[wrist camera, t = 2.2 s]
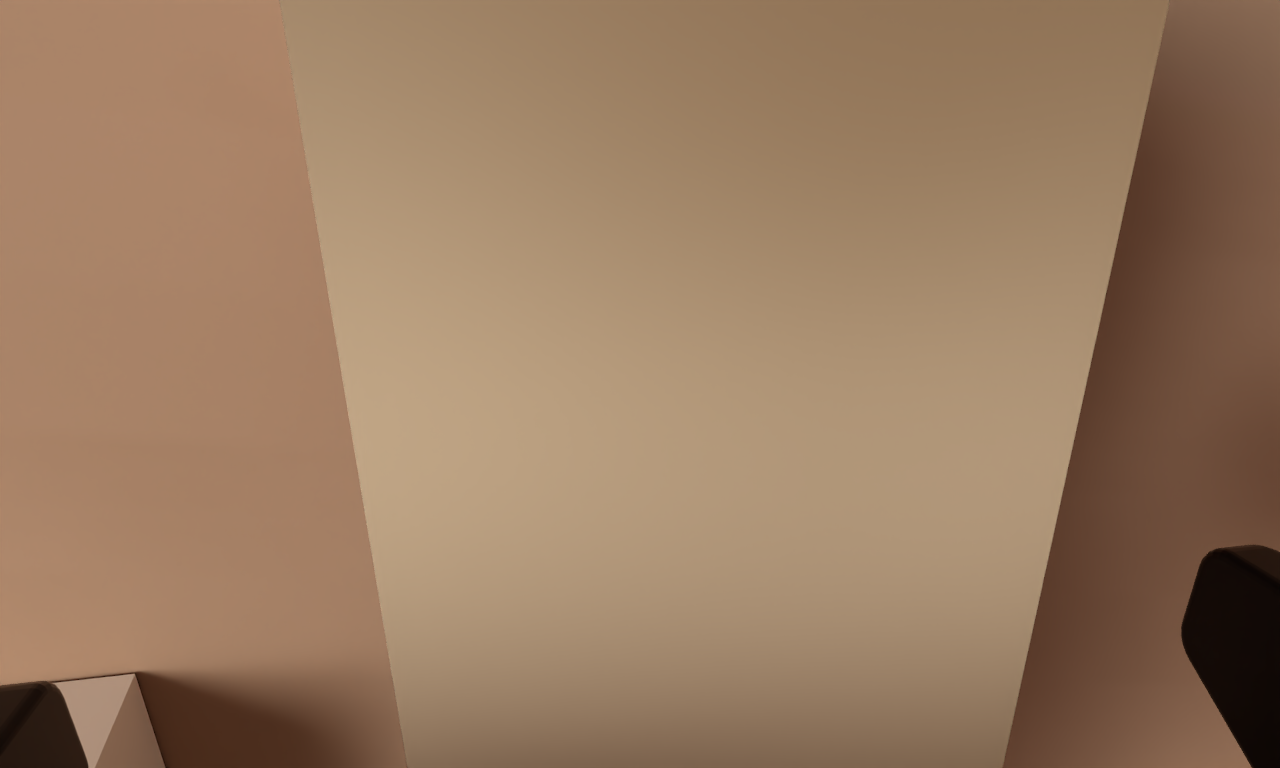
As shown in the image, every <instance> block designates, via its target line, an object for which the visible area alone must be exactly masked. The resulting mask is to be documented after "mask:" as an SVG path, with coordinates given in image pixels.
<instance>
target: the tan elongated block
mask: <svg viewBox="0 0 1280 768" xmlns="http://www.w3.org/2000/svg"><path fill="white" fill-rule="evenodd" d="M279 2H280V8H281V14H282V20H283V26H284V32H285V38H286V44H287V50H288V56H289V62H290V68H291V74H292V80H293V86H294V92H295V98H296V104H297V110H298V116H299V122H300V128H301V134H302V140H303V146H304V152H305V158H306V164H307V170H308V176H309V182H310V188H311V194H312V200H313V206H314V212H315V218H316V224H317V230H318V236H319V242H320V248H321V254H322V260H323V266H324V272H325V278H326V283H327V289H328V295H329V301H330V307H331V313H332V319H333V325H334V331H335V337H336V343H337V349H338V355H339V361H340V367H341V373H342V379H343V385H344V391H345V397H346V403H347V409H348V415H349V421H350V427H351V433H352V439H353V445H354V451H355V457H356V463H357V469H358V475H359V481H360V487H361V493H362V499H363V505H364V511H365V517H366V523H367V529H368V535H369V541H370V547H371V553H372V559H373V565H374V571H375V577H376V583H377V589H378V595H379V601H380V607H381V613H382V619H383V625H384V631H385V637H386V643H387V649H388V655H389V661H390V667H391V673H392V679H393V685H394V691H395V697H396V703H397V709H398V715H399V721H400V727H401V732H402V738H403V744H404V750H405V756H406V762H407V768H1003V763H1004V759H1005V754H1006V750H1007V745H1008V741H1009V736H1010V731H1011V727H1012V722H1013V718H1014V713H1015V708H1016V704H1017V699H1018V695H1019V690H1020V686H1021V681H1022V676H1023V672H1024V667H1025V663H1026V658H1027V653H1028V649H1029V644H1030V640H1031V635H1032V631H1033V626H1034V621H1035V617H1036V612H1037V608H1038V603H1039V598H1040V594H1041V589H1042V585H1043V580H1044V576H1045V571H1046V566H1047V562H1048V557H1049V553H1050V548H1051V543H1052V539H1053V534H1054V530H1055V525H1056V521H1057V516H1058V511H1059V507H1060V502H1061V498H1062V493H1063V488H1064V484H1065V479H1066V475H1067V470H1068V466H1069V461H1070V456H1071V452H1072V447H1073V443H1074V438H1075V433H1076V429H1077V424H1078V420H1079V415H1080V411H1081V406H1082V401H1083V397H1084V392H1085V388H1086V383H1087V378H1088V374H1089V369H1090V365H1091V360H1092V356H1093V351H1094V346H1095V342H1096V337H1097V333H1098V328H1099V323H1100V319H1101V314H1102V310H1103V305H1104V301H1105V296H1106V291H1107V287H1108V282H1109V278H1110V273H1111V268H1112V264H1113V259H1114V255H1115V250H1116V246H1117V241H1118V236H1119V232H1120V227H1121V223H1122V218H1123V213H1124V209H1125V204H1126V200H1127V195H1128V191H1129V186H1130V181H1131V177H1132V172H1133V168H1134V163H1135V158H1136V154H1137V149H1138V145H1139V140H1140V136H1141V131H1142V126H1143V122H1144V117H1145V113H1146V108H1147V103H1148V99H1149V94H1150V90H1151V85H1152V81H1153V76H1154V71H1155V67H1156V62H1157V58H1158V53H1159V49H1160V44H1161V39H1162V35H1163V30H1164V26H1165V21H1166V16H1167V12H1168V7H1169V3H1170V0H279Z"/></svg>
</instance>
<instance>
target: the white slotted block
mask: <svg viewBox="0 0 1280 768" xmlns="http://www.w3.org/2000/svg"><path fill="white" fill-rule="evenodd" d="M53 684H55V685H56V686H57V687H58V688H59V689H60V691H61V693H62V694H63V696H64V699H65V701H66V704H67V707H68V709H69V712H70V715H71V717H72V720H73V723H74V726H75V728H76V731H77V734H78V736H79V739H80V742H81V744H82V747H83V750H84V753H85V755H86V758H87V762H88V767H89V768H165V765H164V762H163V759H162V756H161V753H160V750H159V747H158V744H157V741H156V737H155V734H154V731H153V728H152V725H151V722H150V719H149V716H148V713H147V710H146V707H145V703H144V700H143V697H142V694H141V691H140V688H139V685H138V682H137V679H136V676H135V674H128V675H120V676H111V677H102V678H93V679H84V680H75V681H66V682H58V683H53Z"/></svg>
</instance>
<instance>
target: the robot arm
mask: <svg viewBox="0 0 1280 768" xmlns="http://www.w3.org/2000/svg"><path fill="white" fill-rule="evenodd" d="M1181 636H1182V642H1183V646H1184V649H1185V652H1186V654H1187V656H1188V658H1189V660H1190V662H1191V663H1192V665H1193V667H1194V668H1195V670H1196V672H1197V674H1198V675H1199V677H1200V679H1201V681H1202V682H1203V684H1204V686H1205V687H1206V689H1207V691H1208V693H1209V694H1210V696H1211V698H1212V700H1213V701H1214V703H1215V705H1216V706H1217V708H1218V710H1219V712H1220V713H1221V715H1222V717H1223V718H1224V720H1225V722H1226V724H1227V725H1228V727H1229V729H1230V731H1231V732H1232V734H1233V736H1234V737H1235V739H1236V741H1237V743H1238V744H1239V746H1240V748H1241V749H1242V751H1243V753H1244V755H1245V756H1246V758H1247V760H1248V762H1249V763H1250V765H1251V767H1252V768H1280V552H1278V551H1276V550H1273V549H1271V548H1268V547H1265V546H1261V545H1244V546H1235V547H1226V548H1218V549H1215V550H1212V551H1210V552H1209V553H1208V554H1207V555H1206V556H1205V557H1204V558H1203V559H1202V561H1201V563H1200V566H1199V569H1198V572H1197V576H1196V579H1195V582H1194V585H1193V589H1192V592H1191V595H1190V598H1189V602H1188V605H1187V608H1186V612H1185V615H1184V618H1183V622H1182V627H1181ZM0 768H89V767H88V762H87V758H86V755H85V753H84V750H83V747H82V744H81V742H80V739H79V736H78V734H77V731H76V728H75V726H74V723H73V720H72V717H71V715H70V712H69V709H68V707H67V704H66V701H65V699H64V696H63V694H62V693H61V691H60V689H59V688H58V687H57V686H56V685H55V684H53V683H51V682H47V681H37V682H28V683H19V684H10V685H1V686H0Z"/></svg>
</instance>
